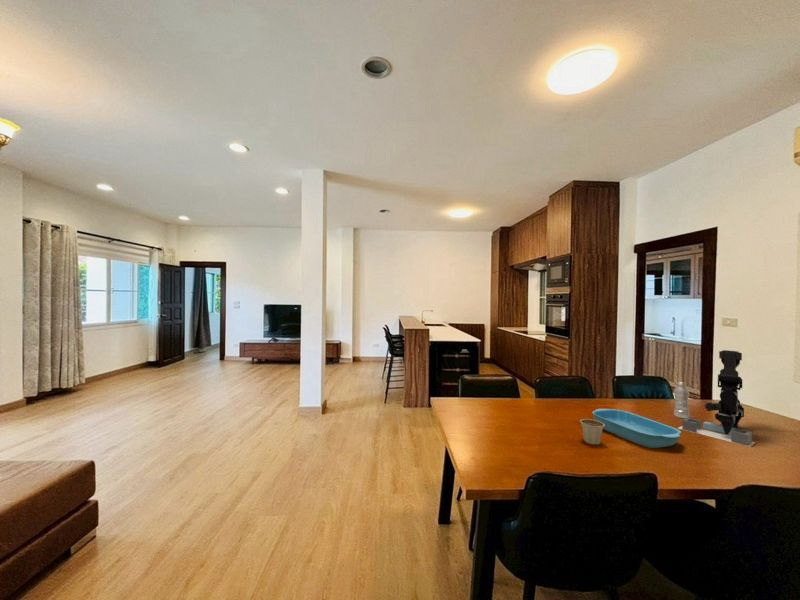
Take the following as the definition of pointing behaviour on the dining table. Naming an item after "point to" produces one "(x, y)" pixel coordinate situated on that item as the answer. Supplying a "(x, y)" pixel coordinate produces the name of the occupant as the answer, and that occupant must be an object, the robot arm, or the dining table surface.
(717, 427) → the slat
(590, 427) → the flower pot
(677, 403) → the plastic bottle
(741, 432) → the cap sliding
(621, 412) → the casserole dish
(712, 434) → the board
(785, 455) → the dining table surface
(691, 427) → the cap fixed
